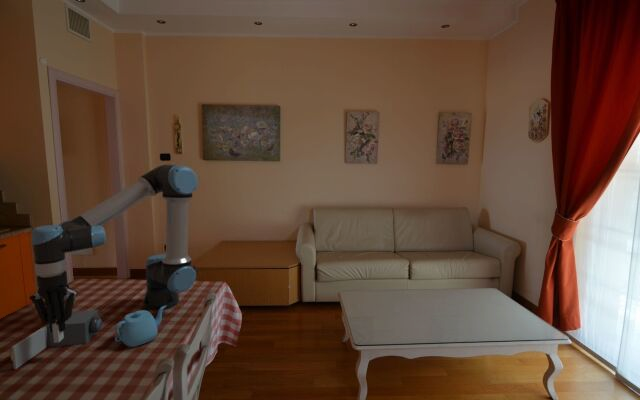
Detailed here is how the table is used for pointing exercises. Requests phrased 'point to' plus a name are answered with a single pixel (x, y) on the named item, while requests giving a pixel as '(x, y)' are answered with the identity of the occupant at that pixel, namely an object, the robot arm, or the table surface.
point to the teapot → (138, 327)
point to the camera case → (78, 328)
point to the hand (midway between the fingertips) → (59, 340)
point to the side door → (29, 347)
